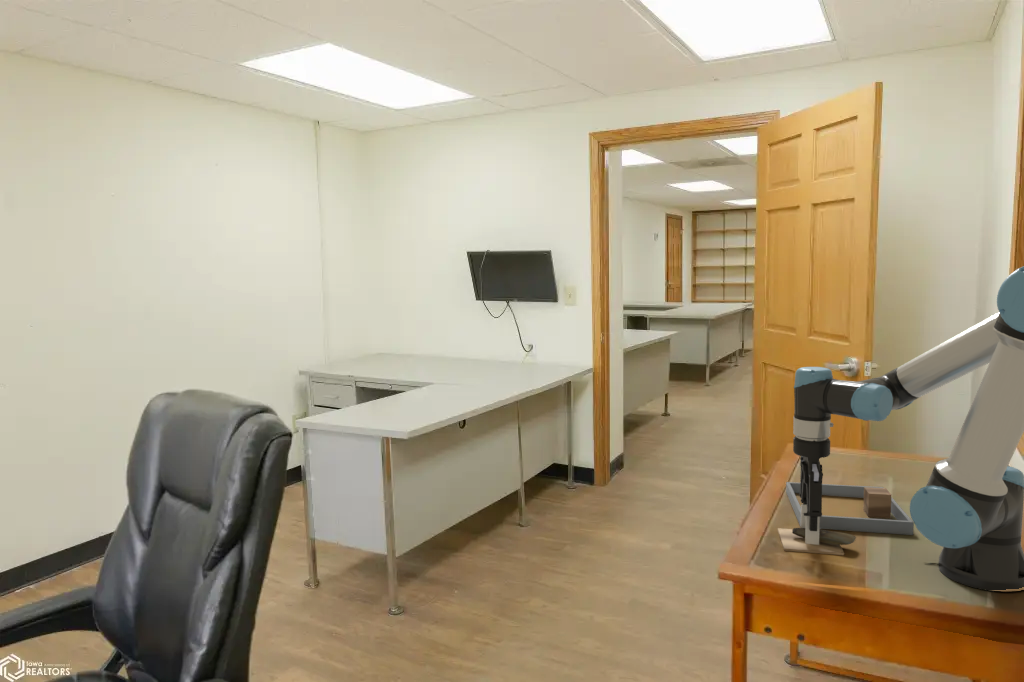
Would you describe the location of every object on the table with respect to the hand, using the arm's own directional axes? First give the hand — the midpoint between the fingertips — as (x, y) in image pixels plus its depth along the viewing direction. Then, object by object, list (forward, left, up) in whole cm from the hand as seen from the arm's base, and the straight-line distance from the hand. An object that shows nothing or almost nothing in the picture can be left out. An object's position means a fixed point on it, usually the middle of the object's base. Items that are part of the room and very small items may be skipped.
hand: (809, 537), depth 153 cm
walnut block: (+22, -19, -1) cm, 29 cm away
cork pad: (0, 0, -1) cm, 1 cm away
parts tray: (+22, -11, -1) cm, 25 cm away
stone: (+4, -1, 0) cm, 4 cm away
